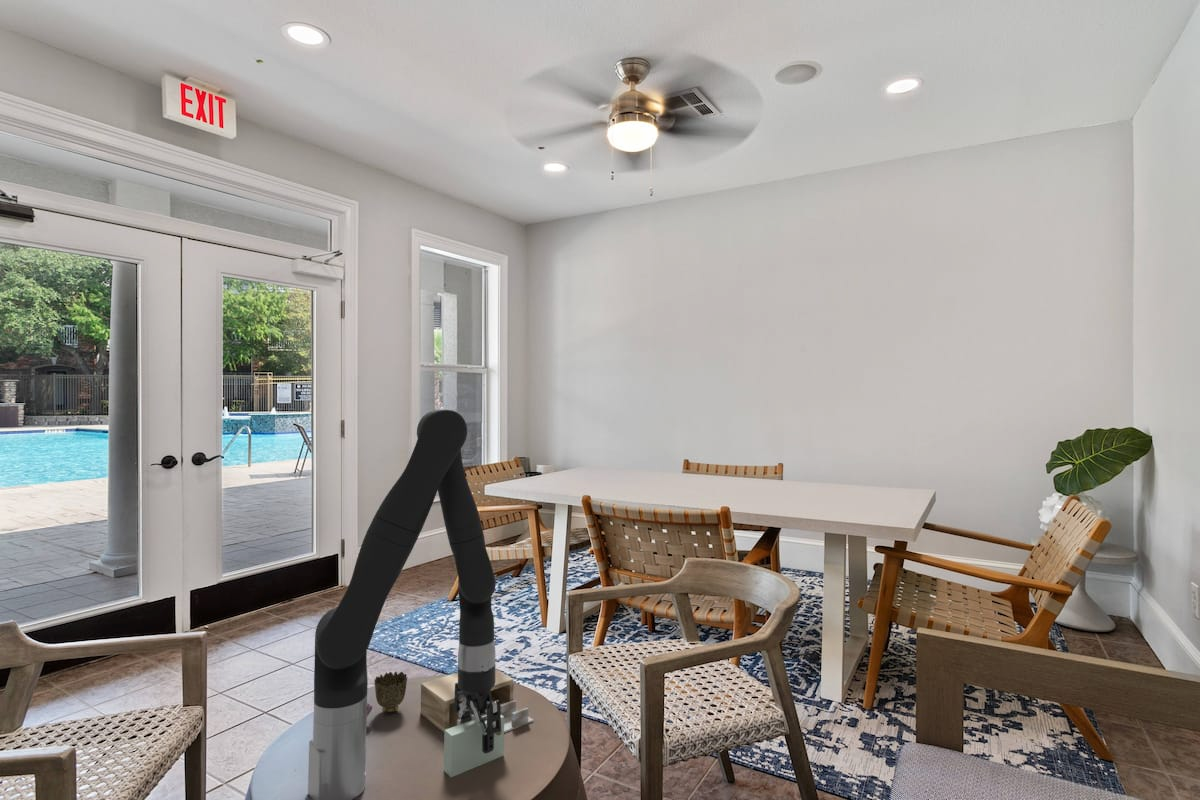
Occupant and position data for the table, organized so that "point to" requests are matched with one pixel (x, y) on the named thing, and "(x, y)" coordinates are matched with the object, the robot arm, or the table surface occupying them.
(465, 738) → the door
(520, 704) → the table surface
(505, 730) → the cabinet
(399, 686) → the cup
